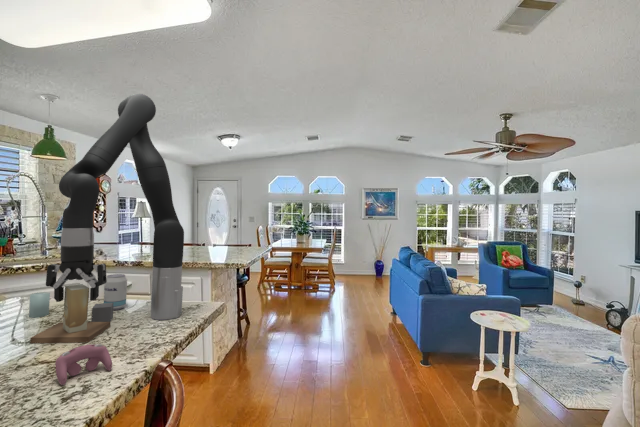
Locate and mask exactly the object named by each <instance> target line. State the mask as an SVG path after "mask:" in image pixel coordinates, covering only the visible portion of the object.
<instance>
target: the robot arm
mask: <svg viewBox="0 0 640 427" xmlns="http://www.w3.org/2000/svg"><path fill="white" fill-rule="evenodd" d="M156 111H157V107H156V105H155V102H154V101H153V99H152V98H150V97H149V96H148V95H146V94H143V93H134V94H130V95H129V96H127V97H126V98H125V99H123V100H122V101H121V102H120V103H119V104H118V107H117V116H118V118H117V120H116V121H115V122H114V123H113V124H112V125H111V126H110V128H108V130H107V131H105V132H104V133H103V134H102V135H101V136H100V137H99V138H98V139H97V140H96V141H95V142H94V144H93V145H92V146H91V147H90V149H88V151H87V152H86V153H85V154H84V156H83V157H82V159H80V161H78V162H77V163H76V164H74V165H73V166H72V167H71V168H70V169H69V170H68V171H67V172H66V173H65V174H63V175H62V177H61V178H60V181H59V183H58V190H59V192H60V194H61V195H63V196H64V197H66V198H69V199H70V201H69V205H68V207H66V208H64V210H63V212H62V223H61V224H62V225H61V226H62V229H61V236H60V264H57V263H52V264H48V265H47V267H46V278H45V286H46V287H51V288H52V289H53V299H54V300H55V301H56V303H58V302H59V303H60V302H62V301H64V298H65V286H64V285H65V283H67V281H74V280H76V281H77V280H78V281H81V280H83V281H84V282H86V283H87V284H88V285H89V286H90V287H89V300H90V302H94V301H96V300H97V298H99V294H100V286H103V285H105V283H106V282H107V279H106V278H107V264H106V263H104V262H103V263H99V264H95V263H94V258H95V255H94V254H95V252H94V251H95V232H94V212H95V210H96V206H97V203H98V199H99V195H100V186H99V182H98V180H97V179H98V178H99V177H101V176H104V175H105V174H106V173H108V172H109V170H110V169H111V168H112V166H113V165H114V164H115V163H116V161H117V160H118V158H119V157H120V155H122V153H123V151H124V150H125V149H126V147H127V146H128V145H129V148H130V152H131V155H132V159H133V162H134V166H135V170H136V174H137V177H138V181H139V184H140V187H141V190H142V192H143V194H144V197H145V199H146V202H147V203H148V205H149V207H150V211H151V215H152V220H153V221H152V222H153V227H154V228H153V229H154V231H153V245H152V246H153V247H152V273H151V274H152V276H151V292H150V293H151V295H150V318H151V319H152V320H158V321H160V320H161V321H162V320H163V321H164V320H172V319H177V318H179V317H180V316H181V314H182V313H183V291H184V286H182V279H183V276H182V275H183V260H184V245H185V244H184V242H185V241H184V240H185V231H184V227H183V225H182V224H181V223H180V220H179V218H178V216H177V215H178V214H177V212H176V210H175V206H174V202H173V193H172V187H171V180H170V177H169V176H170V175H169V172H168V168H167V165H166V163H165V159H164V158H163V156H162V154H161V153H160V152H159V150H158V149H157V147H155V145H154V143H153V141H152V140H151V136H150V133H149V128H148V123H150V122H151V121H152V120H154V117H155V116H156V113H157V112H156ZM94 270H95V272H96V273H97V277H96V275H95V274H94V273H93V272H94ZM59 271H60V272H61V273H62V274H61V275H60V276H59V277H58V278H57V276H58V272H59Z"/></svg>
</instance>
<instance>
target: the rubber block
mask: <svg viewBox="0 0 640 427" xmlns="http://www.w3.org/2000/svg"><path fill="white" fill-rule="evenodd" d="M113 305H114V303H104V302H103V303H95V304H94V305H93V306H92V308H91V322H112V320H113V318H114V310H113Z"/></svg>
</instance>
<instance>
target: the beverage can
mask: <svg viewBox="0 0 640 427" xmlns="http://www.w3.org/2000/svg"><path fill="white" fill-rule="evenodd" d="M106 279H107V282H106V283H105V284H103V285H104V290H103V303H114V305H113V311H119V309H120V310H122V309H123V308H124V307H126V306H127V294H128V290H127V289H128V278H127V277H126V274H123V273H115V274H114V273H113V274H108V275H106Z"/></svg>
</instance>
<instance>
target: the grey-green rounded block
mask: <svg viewBox="0 0 640 427" xmlns="http://www.w3.org/2000/svg"><path fill="white" fill-rule="evenodd" d="M50 301H51V292H45V291H43V292H34V293H31V294H29V305H28V306H29V307H28V308H29V309H28V317H29V318H34V319H35V318H42V317H47V316H49V315H50Z"/></svg>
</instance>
